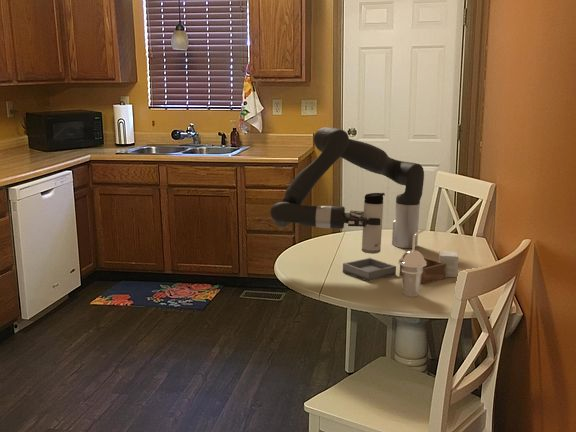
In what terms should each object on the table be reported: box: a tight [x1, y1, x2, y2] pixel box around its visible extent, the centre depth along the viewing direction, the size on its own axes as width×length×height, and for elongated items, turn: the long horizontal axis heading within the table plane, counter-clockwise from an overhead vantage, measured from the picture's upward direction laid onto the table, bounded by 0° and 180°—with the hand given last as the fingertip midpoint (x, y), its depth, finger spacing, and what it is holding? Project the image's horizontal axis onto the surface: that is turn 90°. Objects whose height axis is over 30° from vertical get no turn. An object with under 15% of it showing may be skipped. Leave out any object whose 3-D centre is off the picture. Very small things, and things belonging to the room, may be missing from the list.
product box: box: [438, 250, 459, 278], centre depth 212 cm, size 6×6×7 cm
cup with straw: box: [397, 228, 427, 298], centre depth 190 cm, size 8×9×20 cm
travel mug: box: [361, 192, 386, 255], centre depth 209 cm, size 6×7×20 cm
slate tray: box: [342, 257, 397, 282], centre depth 212 cm, size 13×13×3 cm
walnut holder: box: [399, 256, 446, 285], centre depth 209 cm, size 11×11×5 cm
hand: (380, 219), depth 208 cm, fingers closed on travel mug, 6 cm apart
